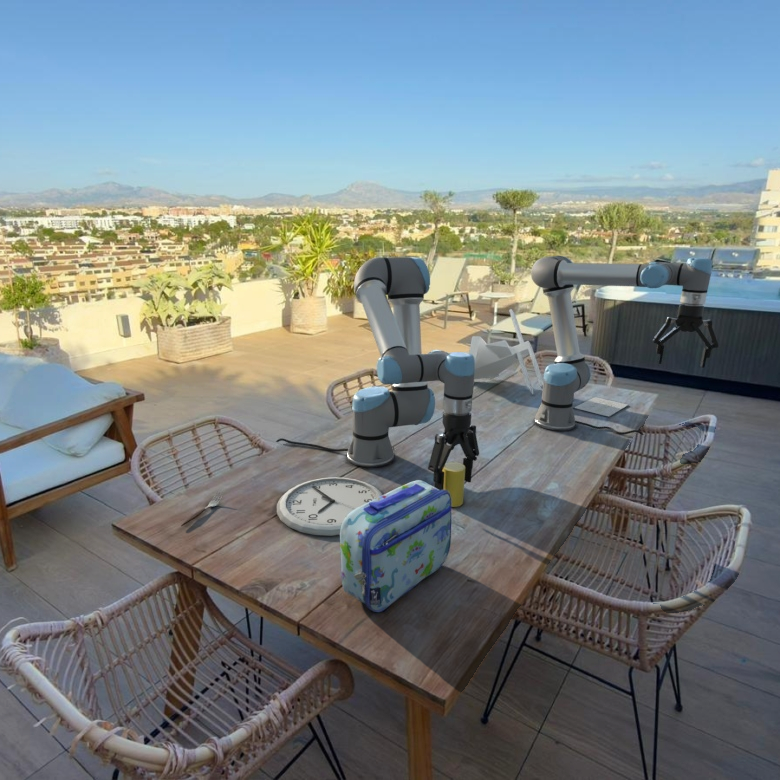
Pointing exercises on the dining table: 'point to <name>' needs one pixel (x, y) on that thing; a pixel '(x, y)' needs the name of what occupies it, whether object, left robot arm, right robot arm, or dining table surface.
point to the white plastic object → (502, 356)
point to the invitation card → (601, 406)
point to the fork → (211, 504)
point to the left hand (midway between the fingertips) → (452, 486)
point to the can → (454, 482)
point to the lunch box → (394, 543)
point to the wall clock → (323, 504)
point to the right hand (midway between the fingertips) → (680, 364)
